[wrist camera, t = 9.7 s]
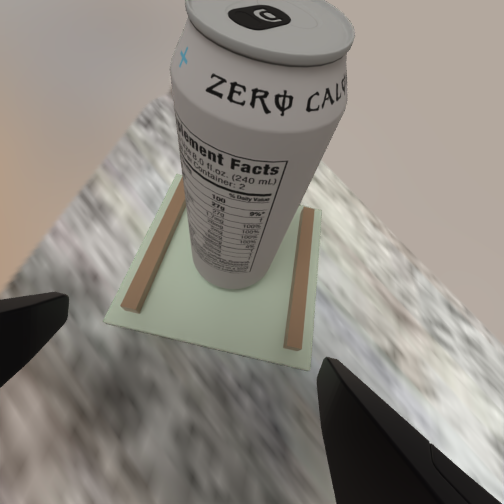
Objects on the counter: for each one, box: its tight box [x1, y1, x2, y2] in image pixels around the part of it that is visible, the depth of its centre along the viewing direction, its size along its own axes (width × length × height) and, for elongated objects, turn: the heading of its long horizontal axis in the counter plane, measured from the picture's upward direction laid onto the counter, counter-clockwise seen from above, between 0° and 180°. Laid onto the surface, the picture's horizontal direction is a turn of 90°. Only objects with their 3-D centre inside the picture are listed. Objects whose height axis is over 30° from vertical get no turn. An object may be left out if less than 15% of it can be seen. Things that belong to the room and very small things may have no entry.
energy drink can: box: [170, 0, 355, 289], centre depth 14 cm, size 6×6×15 cm
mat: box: [103, 174, 322, 371], centre depth 20 cm, size 14×14×2 cm
